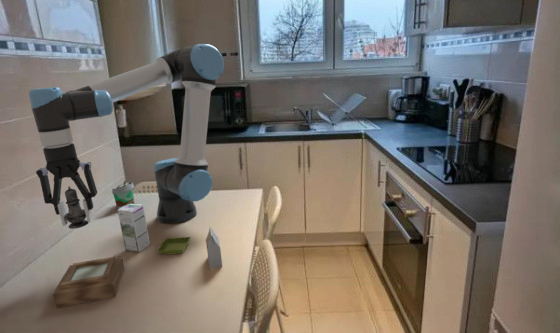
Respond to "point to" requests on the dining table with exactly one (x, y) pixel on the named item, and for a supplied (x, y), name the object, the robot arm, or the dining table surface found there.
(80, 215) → the salt shaker
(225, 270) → the dining table surface
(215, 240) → the grey upright block
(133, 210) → the syrup box
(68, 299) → the display pedestal
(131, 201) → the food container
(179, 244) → the olive green shallow tray
